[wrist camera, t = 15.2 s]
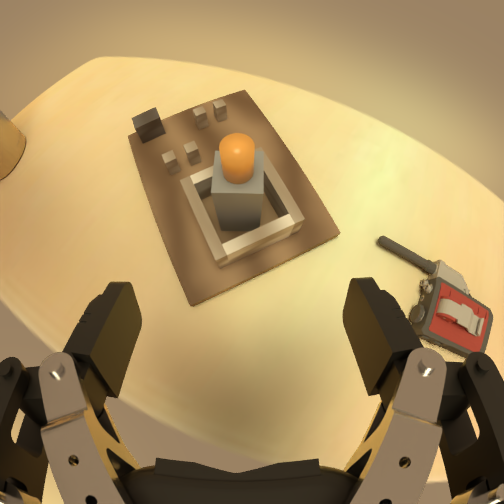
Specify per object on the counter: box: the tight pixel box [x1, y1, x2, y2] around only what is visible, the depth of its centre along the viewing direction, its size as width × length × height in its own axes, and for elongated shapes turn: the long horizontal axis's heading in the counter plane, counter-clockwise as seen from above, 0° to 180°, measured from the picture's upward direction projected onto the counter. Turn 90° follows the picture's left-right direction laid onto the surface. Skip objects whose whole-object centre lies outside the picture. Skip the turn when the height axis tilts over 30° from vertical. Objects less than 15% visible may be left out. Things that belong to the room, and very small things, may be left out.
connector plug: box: [211, 133, 264, 231], centre depth 22 cm, size 4×4×11 cm
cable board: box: [128, 90, 340, 306], centre depth 27 cm, size 16×22×5 cm
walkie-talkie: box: [378, 236, 493, 358], centre depth 24 cm, size 9×4×20 cm
